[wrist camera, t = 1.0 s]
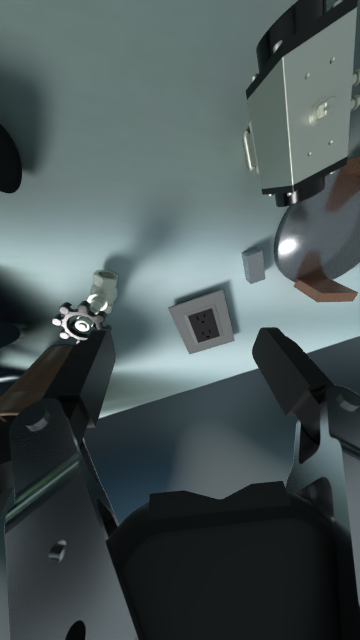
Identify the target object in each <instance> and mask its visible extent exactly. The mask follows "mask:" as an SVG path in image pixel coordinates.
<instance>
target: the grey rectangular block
mask: <svg viewBox="0 0 360 640" xmlns="http://www.w3.org/2000/svg"><path fill="white" fill-rule="evenodd" d="M242 259H243V265H244V271H245V277H246V280H247V281H248V282H249V283H250V284H253V283H255V282H258V281H261V280H264V279H265V271H264V260H263V251H262V250H260V249H258V248H257V247H256V248H253V249H251V250H248V251H246V252H243V253H242Z"/></svg>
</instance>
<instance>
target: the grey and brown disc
mask: <svg viewBox="0 0 360 640" xmlns="http://www.w3.org/2000/svg"><path fill="white" fill-rule="evenodd" d="M274 258H275V262H276V265H277V267H278V269H279V270H280V272H281V273H282V274H283V275H284V276H285V277H287V278H289V279H290V280H292V281H293V282H296V283H295V285H294V287H295V288H297V289H298V290H300V291H301V292H303V293H304V294H306V295H307V296H309V297H310V298H312V299H313V300H315V301H316V302H344V301H353V300H354V299H355V297H356V296H357V294H358V292H356V291H354V290H352V289H350V288H347V287H345V286H343V285H341V284H339V283H337V282H335V281H333V279H335V278H337V277H339V276H341V275H343V274H344V273H346V272H347V271H349V270H350V269H352V268H353V267H354V266H355V265H357V264H358V263H359V262H360V156H359V157H355V158H350V159H347V165H345V166H343V167H341V168H339V169H338V170H336V172H335V173H333V174H330V175H326V176H325V188H324V189H323V190H322V191H321V192H320V193H318V194H316V195H315V196H313V197H311V198H309V199H306V200H304V201H302V202H299V203H296V204H293V205H290V206H289V208H288V209H287V211H286V213H285V214H284V216H283V218H282V220H281V222H280V224H279V227H278V230H277V233H276V237H275V242H274Z"/></svg>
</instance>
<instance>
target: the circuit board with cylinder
mask: <svg viewBox="0 0 360 640" xmlns="http://www.w3.org/2000/svg"><path fill="white" fill-rule="evenodd" d="M21 179H22V167H21V161H20V157H19V153H18V151H17V148H16V146H15V143H14V141H13V140H12V138H11V136H10V135H9V133H8V132H7V131H6V129H5V128H4V127H3V126H2V125H1V124H0V191H1V192H5V193H13V192H15V191H16V190H17V189H18V188H19V186H20V184H21Z"/></svg>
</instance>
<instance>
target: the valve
mask: <svg viewBox="0 0 360 640" xmlns="http://www.w3.org/2000/svg"><path fill="white" fill-rule="evenodd" d="M117 282H118V276H117V275H116V274H115V273H113V272H110V271H107V270H97V271H96V272H95V273H94V276H93V285H92V287H91V291H90V293H91V294H90V296H89V297H88V299H87V301H82V302H81V303H80V305H79V306H78V309H74V310H73V309H71V307H70V306H71V305H72V304H70V303H68V302H65V303H63V304H62V305H61V306H60V308H59V311H60V312H61V313H62V314H64V315H65V316H64V317H61V314H57V315H56V316H55V317H54V318H53V319H52V323H53V324H54V325H57V326H60V325H61V326H63V327H64V329H63V330H62V331H61V333H60V337H61V338H63V339H68V338H69V337H70V336H72V337H74V338H76V339H77V341H76V344H77V343H79V342H80V341H81V340H87V339H88V337H89V335H90V334H88V335H86V334H81V333H78V332H76V331H75V330H74V329H73V328H72V327H73V326H74V325H75V324H76V328H77V329H78V330H80V331H82V332H83V331H88V330H89V329H90V328H91V327H92V326H94V327H95V328H96V330H102V329H109V330H110V331H111V326H110V325H107V326H106V327H104V326H102V322H104V321H105V319H106V317H107V314H109V313H111V311H112V309H113V305H114V301H115V300H116V298H117V288H116V285H117ZM75 315H79V317H78V318H77V319H74V320H72V321H70V322H69V319H70V317H72V316H75Z"/></svg>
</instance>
